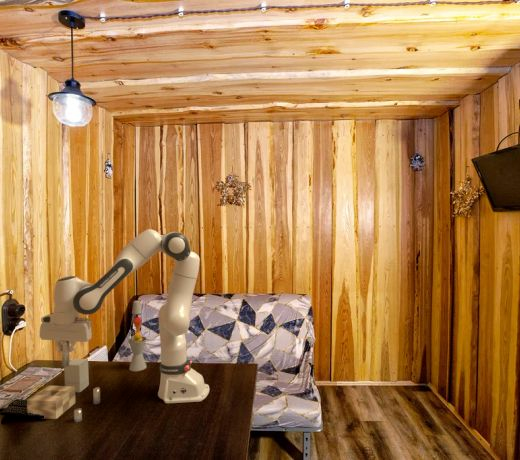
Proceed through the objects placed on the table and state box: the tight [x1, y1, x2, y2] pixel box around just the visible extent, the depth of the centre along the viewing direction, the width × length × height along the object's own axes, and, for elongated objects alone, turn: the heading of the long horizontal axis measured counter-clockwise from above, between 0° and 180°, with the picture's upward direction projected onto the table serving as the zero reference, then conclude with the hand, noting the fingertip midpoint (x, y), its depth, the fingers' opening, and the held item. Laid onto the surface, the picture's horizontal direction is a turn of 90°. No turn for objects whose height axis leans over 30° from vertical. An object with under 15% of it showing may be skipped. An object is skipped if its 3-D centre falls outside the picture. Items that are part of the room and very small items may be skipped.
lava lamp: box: [127, 300, 147, 372], centre depth 183 cm, size 9×9×35 cm
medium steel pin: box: [92, 386, 101, 405], centre depth 149 cm, size 3×3×6 cm
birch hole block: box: [26, 385, 76, 420], centre depth 143 cm, size 12×12×7 cm
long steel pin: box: [61, 341, 71, 368], centre depth 141 cm, size 3×3×12 cm
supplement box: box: [63, 358, 90, 393], centre depth 161 cm, size 7×7×13 cm
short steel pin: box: [73, 407, 83, 423], centre depth 136 cm, size 3×3×4 cm
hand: (65, 351), depth 142 cm, fingers closed on long steel pin, 3 cm apart
